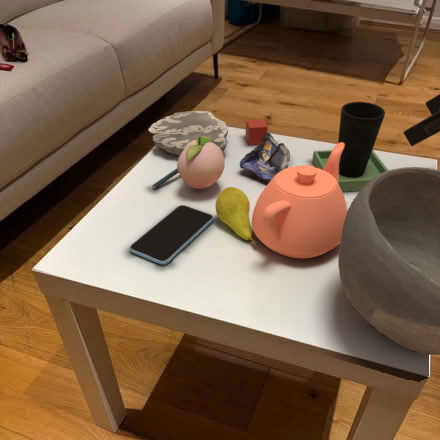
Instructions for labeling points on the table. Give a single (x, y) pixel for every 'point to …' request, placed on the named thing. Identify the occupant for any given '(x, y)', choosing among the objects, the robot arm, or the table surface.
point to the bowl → (396, 256)
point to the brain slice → (188, 130)
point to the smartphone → (171, 234)
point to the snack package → (267, 158)
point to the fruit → (235, 211)
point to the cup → (358, 136)
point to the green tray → (352, 184)
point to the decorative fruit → (201, 163)
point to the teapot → (302, 210)
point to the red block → (255, 131)
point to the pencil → (165, 179)
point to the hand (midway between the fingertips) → (418, 123)
